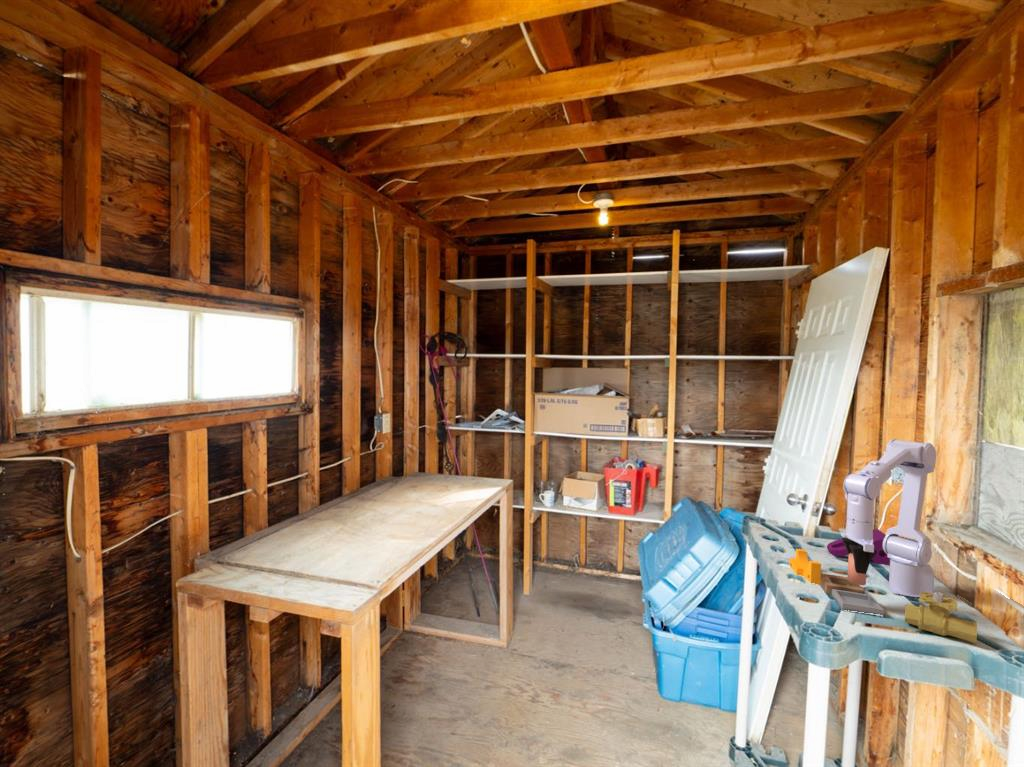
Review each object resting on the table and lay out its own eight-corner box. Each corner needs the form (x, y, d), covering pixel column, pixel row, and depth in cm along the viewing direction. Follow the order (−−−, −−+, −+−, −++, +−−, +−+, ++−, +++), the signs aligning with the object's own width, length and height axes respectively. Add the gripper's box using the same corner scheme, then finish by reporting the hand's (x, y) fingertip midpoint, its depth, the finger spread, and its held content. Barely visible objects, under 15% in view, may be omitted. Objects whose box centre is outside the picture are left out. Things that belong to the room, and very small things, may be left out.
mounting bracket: (843, 576, 159) (901, 561, 153) (831, 552, 160) (889, 537, 154) (834, 566, 167) (889, 551, 162) (823, 543, 169) (877, 528, 163)
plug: (862, 580, 126) (864, 554, 125) (868, 586, 122) (869, 560, 122) (845, 577, 127) (846, 552, 127) (850, 583, 123) (851, 557, 123)
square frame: (852, 586, 137) (853, 578, 137) (864, 599, 128) (864, 590, 128) (817, 580, 140) (817, 572, 140) (826, 593, 131) (826, 584, 131)
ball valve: (903, 629, 113) (905, 589, 113) (907, 614, 121) (908, 577, 121) (976, 651, 105) (978, 608, 105) (975, 634, 112) (977, 593, 112)
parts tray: (870, 602, 127) (870, 594, 127) (883, 617, 119) (884, 610, 119) (831, 595, 130) (832, 588, 130) (842, 610, 122) (842, 603, 122)
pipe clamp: (789, 567, 150) (789, 548, 150) (803, 569, 149) (804, 549, 149) (804, 583, 138) (805, 562, 138) (820, 585, 137) (821, 564, 137)
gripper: (833, 510, 132) (831, 557, 133) (851, 525, 119) (849, 577, 119) (863, 513, 130) (861, 561, 130) (884, 529, 116) (882, 582, 117)
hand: (857, 569), depth 124 cm, fingers closed on plug, 4 cm apart
